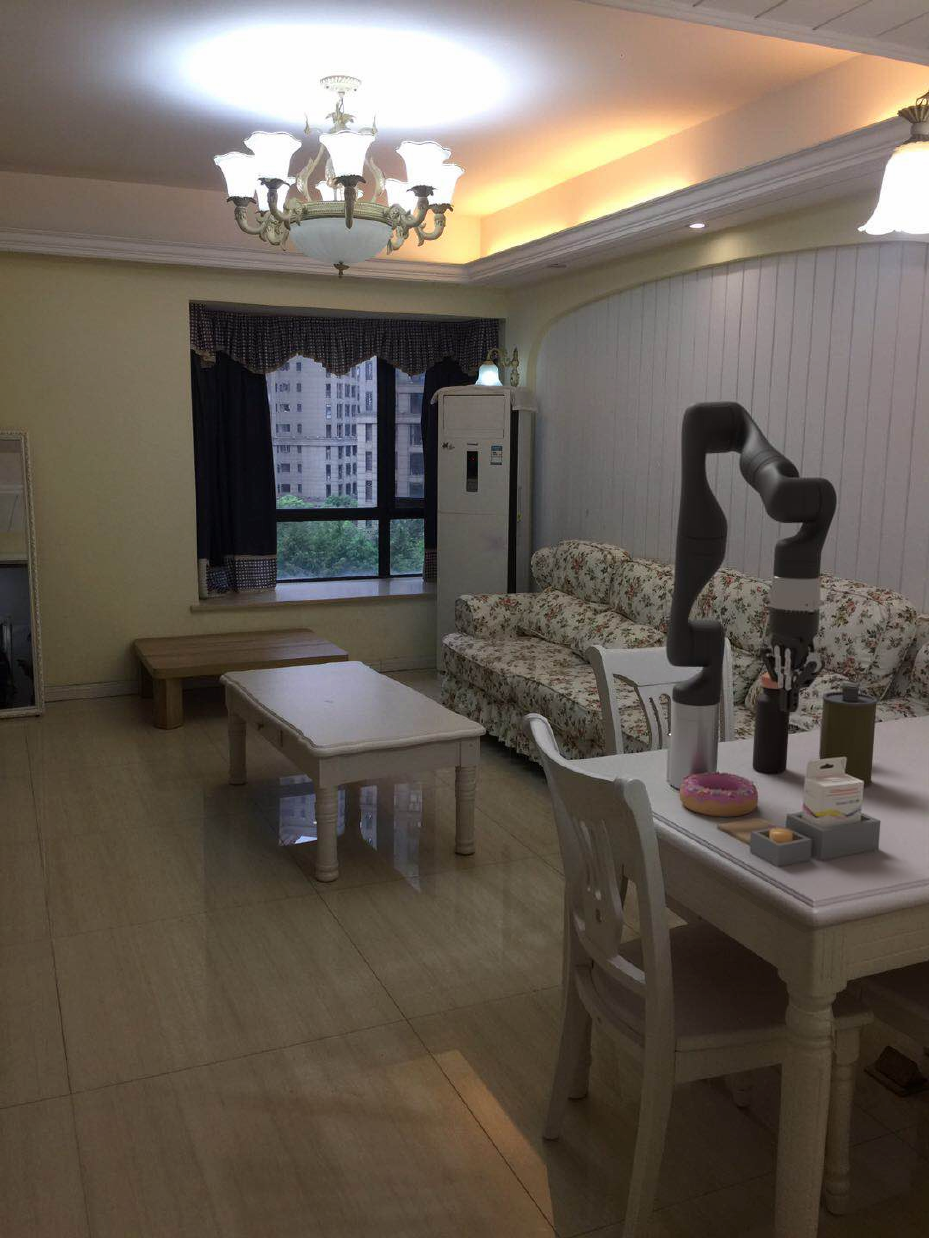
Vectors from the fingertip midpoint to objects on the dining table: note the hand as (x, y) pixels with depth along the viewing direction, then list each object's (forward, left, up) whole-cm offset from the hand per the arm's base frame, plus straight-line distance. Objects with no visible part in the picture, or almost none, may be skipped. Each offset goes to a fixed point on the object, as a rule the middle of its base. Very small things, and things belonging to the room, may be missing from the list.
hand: (788, 711), depth 166 cm
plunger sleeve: (0, 0, -25) cm, 25 cm away
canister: (-26, +39, -25) cm, 53 cm away
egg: (0, 0, -24) cm, 24 cm away
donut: (-24, +6, -25) cm, 35 cm away
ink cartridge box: (0, +11, -25) cm, 27 cm away
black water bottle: (-38, +30, -25) cm, 54 cm away
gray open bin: (0, +11, -25) cm, 27 cm away
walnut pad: (-10, +3, -25) cm, 27 cm away
